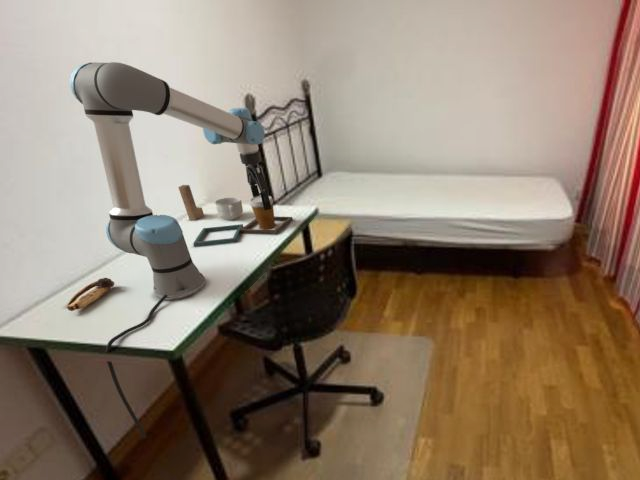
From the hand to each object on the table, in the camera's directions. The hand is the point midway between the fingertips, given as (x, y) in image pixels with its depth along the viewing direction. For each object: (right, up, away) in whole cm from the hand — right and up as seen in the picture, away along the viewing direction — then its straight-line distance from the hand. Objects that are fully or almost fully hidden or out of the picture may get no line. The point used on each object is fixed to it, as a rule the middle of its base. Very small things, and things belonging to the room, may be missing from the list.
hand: (262, 205), depth 186 cm
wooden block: (-36, -1, +19) cm, 41 cm away
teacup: (-19, -2, +15) cm, 24 cm away
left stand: (-17, -13, -2) cm, 22 cm away
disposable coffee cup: (0, -8, +5) cm, 9 cm away
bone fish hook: (-40, -41, -42) cm, 71 cm away
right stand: (0, -8, +5) cm, 9 cm away
